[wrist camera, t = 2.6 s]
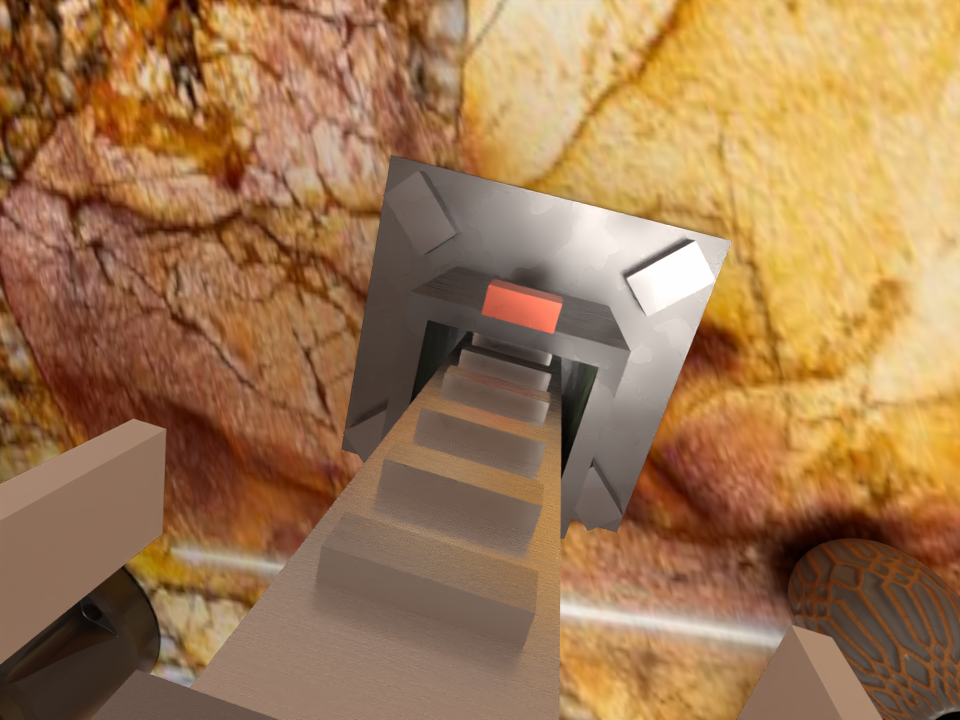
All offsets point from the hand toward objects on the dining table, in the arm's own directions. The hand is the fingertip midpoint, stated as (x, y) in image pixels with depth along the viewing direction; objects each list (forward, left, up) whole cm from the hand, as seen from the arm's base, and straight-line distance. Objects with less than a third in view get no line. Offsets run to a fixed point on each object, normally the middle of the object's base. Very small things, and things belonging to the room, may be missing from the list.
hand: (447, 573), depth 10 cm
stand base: (0, 0, -17) cm, 17 cm away
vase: (+20, -7, -17) cm, 27 cm away
